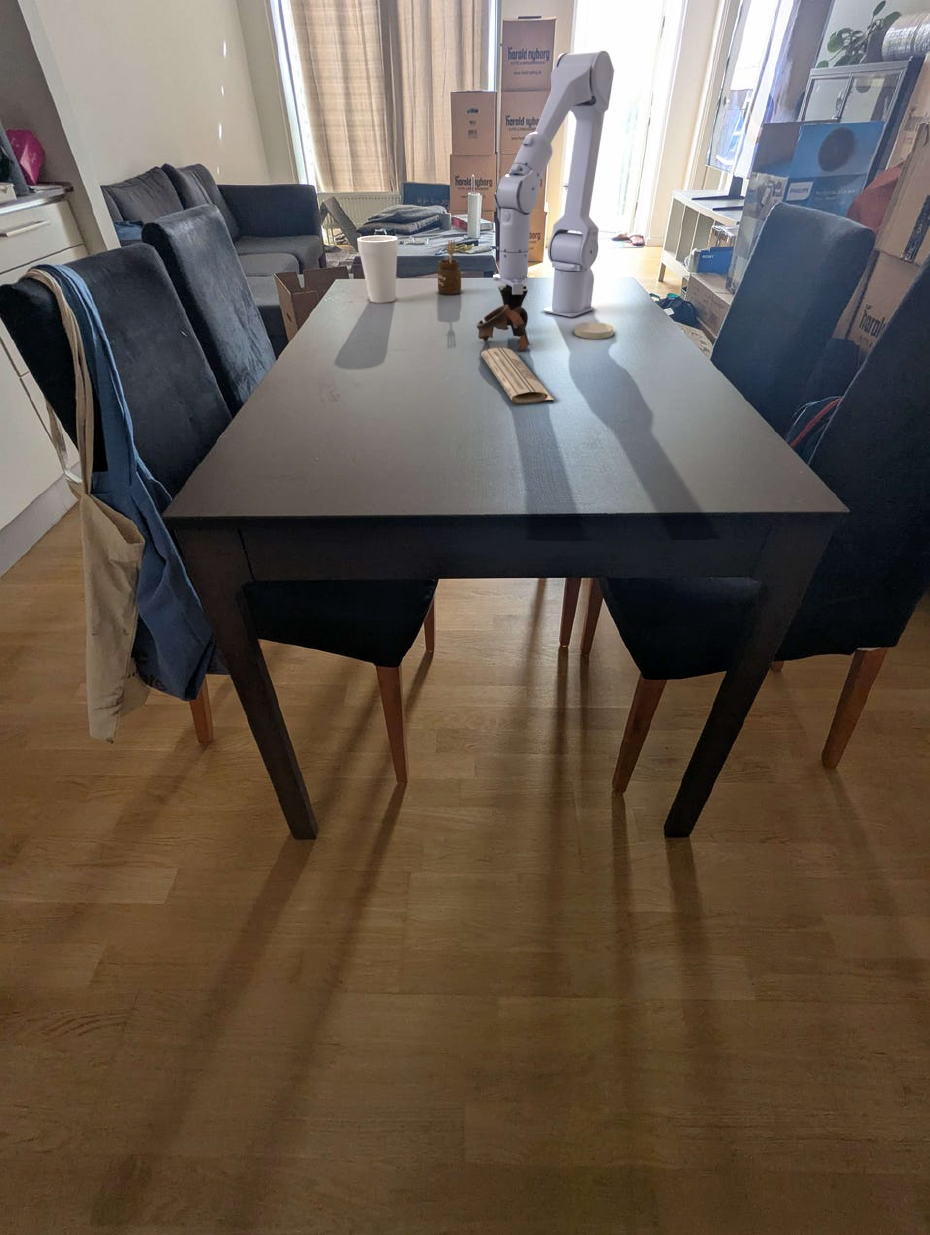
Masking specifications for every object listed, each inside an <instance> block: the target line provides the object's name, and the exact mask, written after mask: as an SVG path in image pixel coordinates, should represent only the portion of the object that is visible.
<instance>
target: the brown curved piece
mask: <svg viewBox="0 0 930 1235" xmlns="http://www.w3.org/2000/svg"><path fill="white" fill-rule="evenodd" d="M483 319H484V321H483V320H482V319H481V320H479V322H478V323H477V324H476V329H478V339H480V340H482V341H483V342H484V343H487V342H488V340H489V339H493V337H494V336H493V335H494V334H493V333H494V329H496V330H501V331H507V330H509V329H510V328H511V331H512V335H513V337H518V339H517V340H516V343H517V345H518V348H519V352H523V351H524V350H525V349H526V348H527V347H528V346H529V345H530V342H529V338H528V335H527V329H526V328H527V326H528V320H529V316H528V312H527V311H526V309H525V308H524V307H523V306H521V307H517V308H515V309H513V310H510V308H509V306H508V305H501V306H498V307H497V308H496V309H494V310H492V311H491V312H489V313H488V314H486V315H485V316H484V317H483ZM507 320H508V321H509V323H510V325H511V326H510V328H509V327H508V326H507Z"/></svg>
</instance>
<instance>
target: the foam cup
mask: <svg viewBox="0 0 930 1235" xmlns="http://www.w3.org/2000/svg"><path fill="white" fill-rule="evenodd" d="M398 244H399V243H398V237H397V236H394V235H378V234H375V235H366V236H361V237H358V238H357V249H358V252H359V257H360V260H361V265H362V270H363V275H364V279H365V284H366V289H367V294H368V299H369V301H370V302H371V303H377V304H383V303H384V304H385V303H391V302H394V301H396V291H397V268H398V266H397V264H398V251H399V246H398Z"/></svg>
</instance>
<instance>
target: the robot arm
mask: <svg viewBox="0 0 930 1235" xmlns="http://www.w3.org/2000/svg"><path fill="white" fill-rule="evenodd" d="M614 73H615V68H614V64H613V62H612V58H611V56H610V54H609V52H608V51H606V50H599V51H594V52H579V53H577V52H576V53H567V52H563V53H560V54H559V55H558V57H557V59H556V60H555V63H554V66H553V68H552V70H551V73H550V88H551V90H550V92H549V95H548V97H547V100H546V103H545V105H544V107H543V110H542V113H541V115H540V118H539V120H538V123H537V125H536V128H535V131H534V132H532V133H531V132H530V133H529V134H527V135H526V136H525V137H524V139H523V141H522V144H521V145H520V148H519V150H518V153H517V154H516V157H515V158H514V161H513V163H512V165H511V167H510V169H509V172H508V174H504V175H503V176H502V177H501V178H500V179H499V180H498V182H497V184H496V186H495V192H494V193H493V201H494V205H495V207H496V211H497V219H498V222H499V261H498V262H499V264H498V266H499V268H498V274H493V277H492V279H493V281H495V282H496V281H497V282H498V281H499V282H500V283H503V284H505V285H499V286H498V287H497V288H498V290H499V293H500V296H501V299H502V300H501V301H502V304H503V305H502V306H504V305H508V306H509V308H510V310H513V309H515V308H517V307H523V303H524V301H525V298H526V296H527V294H528V292H529V290H528V288H527V285H526V283H528V281H529V274H528V273H529V254H530V253H529V251H530V235H531V234H530V233H531V213H532V211H534V209H535V207H536V206H537V204H538V200H539V192H540V189H541V188H540V187H541V183H542V182H541V179H542V177H543V175H544V173H545V171H546V168H547V167H548V164H549V162H550V160H551V158H552V156H553V146H552V142H553V140H554V138H555V137H556V135H557V133H558V131H559V129H560V128H561V126H562V124H563V122H564V121H565V119H566V117H567V115H568V114H569V112H571V113H572V114H573V116H574V118H575V121H576V123H575V130H574V138H573V146H572V153H571V161H570V168H569V177H568V184H567V191H566V199H565V206H564V213H563V215H562V216H561V217H560V218H559V219H558V220H556V221H555V223H554V224H553V226H552V232H551V235H550V238H549V240H548V243H547V256H548V260H549V262H550V263H551V267H552V268H554V272H553V284H552V285H553V287H552V298H551V301H552V302H551V306H550V307H547V308H544V309H543V312H544V313H549V314H553V315H559V316H562V317H563V316H564V317H568V318H574V317H576V316H580V315H582V314H585V313H587V312H590V311H594V309H595V306H592V302H593V292H594V284H595V275H594V272H593V270H592V268H591V267H592V266H593V265H594V263H595V261H596V259H597V257H598V253H599V227H598V226H597V224H596V223H595V222H594V221H593V219H592V218H591V217H590V212H591V205H592V199H593V192H594V186H595V178H596V173H597V166H598V160H599V153H600V148H601V147H600V146H601V140H602V133H603V127H604V126H603V125H604V120H605V113H606V112H607V111H608V110H609V108H610V107H609V106H610V100H611V94H612V89H613V81H614V75H615V74H614ZM569 231H572V232H569ZM573 231H574V232H573ZM577 232H579V233H577ZM507 326H509V327H511V325H510V323H509V321H508V320H507Z"/></svg>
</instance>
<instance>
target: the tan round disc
mask: <svg viewBox="0 0 930 1235" xmlns="http://www.w3.org/2000/svg"><path fill="white" fill-rule="evenodd" d="M614 328H615V327H614V326H613V325H612V324H609V323H605V322H599V321H598V322H597V321H586V322H580V323H577V324H575V325H574V331H573V334H574V335H575V336H577V337H579V338H584V339H588V340H589V339H590V340H602V339H608V338H611V337H612V336H614Z"/></svg>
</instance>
